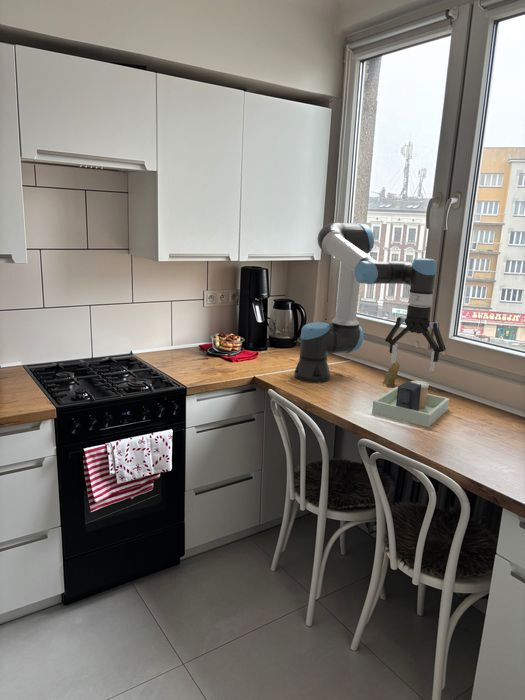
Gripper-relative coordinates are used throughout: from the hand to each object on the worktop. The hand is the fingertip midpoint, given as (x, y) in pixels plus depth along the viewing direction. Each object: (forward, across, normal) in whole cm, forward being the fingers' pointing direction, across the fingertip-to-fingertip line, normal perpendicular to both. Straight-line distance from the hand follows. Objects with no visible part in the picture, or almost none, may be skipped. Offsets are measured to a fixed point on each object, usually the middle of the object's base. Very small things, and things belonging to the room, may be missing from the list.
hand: (412, 366), depth 183 cm
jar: (+17, 0, +10) cm, 20 cm away
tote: (+18, 0, +4) cm, 18 cm away
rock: (+19, -19, +30) cm, 40 cm away
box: (+18, 0, 0) cm, 18 cm away
